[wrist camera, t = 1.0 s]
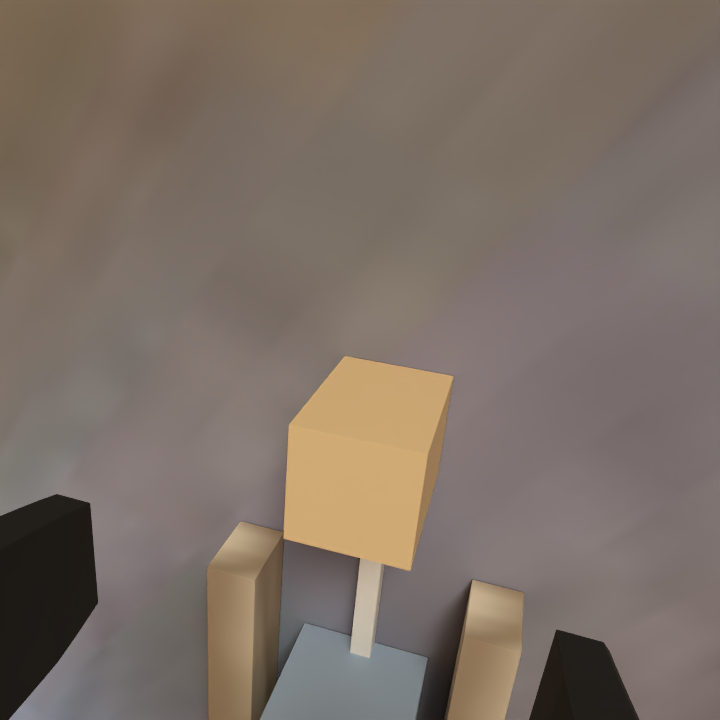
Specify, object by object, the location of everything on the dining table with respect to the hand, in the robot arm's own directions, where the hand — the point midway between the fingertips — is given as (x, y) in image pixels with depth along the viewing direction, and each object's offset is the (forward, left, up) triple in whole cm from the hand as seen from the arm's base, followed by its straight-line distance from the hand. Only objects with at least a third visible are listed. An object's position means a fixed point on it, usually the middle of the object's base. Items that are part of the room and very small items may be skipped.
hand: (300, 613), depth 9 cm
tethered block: (0, +7, -9) cm, 12 cm away
